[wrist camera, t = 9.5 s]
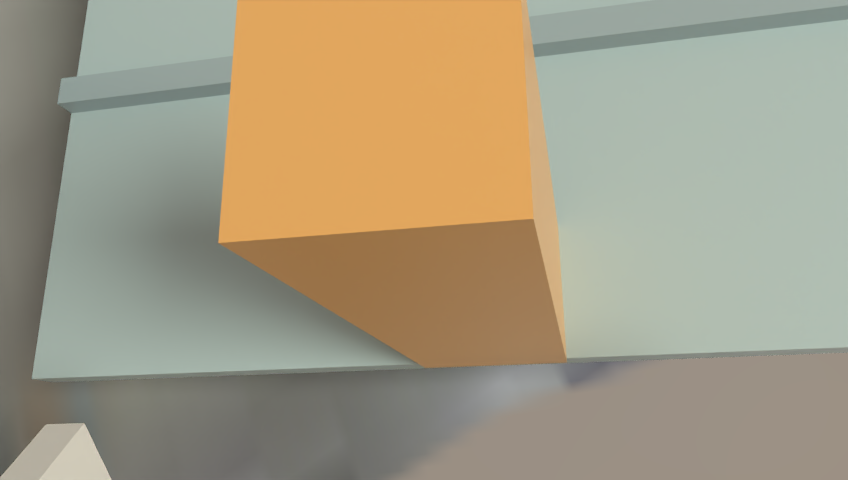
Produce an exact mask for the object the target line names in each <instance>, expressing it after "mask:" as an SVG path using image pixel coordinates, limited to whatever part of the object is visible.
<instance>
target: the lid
mask: <svg viewBox="0 0 848 480" xmlns="http://www.w3.org/2000/svg"><path fill="white" fill-rule="evenodd" d="M57 104H58V105H60V106H61V107H63V108H64V109H66V110H67V111H69V112H70V113H71V120H70V126H69V133H68V140H67V146H66V153H65V160H64V166H63V173H62V180H61V187H60V193H59V200H58V207H57V213H56V220H55V227H54V233H53V240H52V247H51V253H50V260H49V267H48V273H47V280H46V287H45V293H44V300H43V307H42V313H41V320H40V327H39V334H38V340H37V347H36V354H35V360H34V367H33V374H32V379H35V380H42V381H48V382H75V381H101V380H128V379H155V378H181V377H208V376H235V375H261V374H288V373H314V372H341V371H368V370H394V369H421V368H448V367H474V366H501V365H527V364H554V363H581V362H607V361H634V360H660V359H687V358H711V357H712V358H713V357H740V356H767V355H792V354H793V355H794V354H820V353H847V352H848V0H88V6H87V13H86V20H85V26H84V33H83V40H82V46H81V53H80V60H79V66H78V73H77V76H76V77H69V78H61V84H60V90H59V96H58V103H57Z"/></svg>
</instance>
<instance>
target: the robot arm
mask: <svg viewBox="0 0 848 480" xmlns="http://www.w3.org/2000/svg"><path fill="white" fill-rule="evenodd" d="M0 480H111V478H110V476H109V474H108V472H107V469H106V467H105V465H104V463H103V461H102V459H101V457H100V455H99V453H98V451H97V449H96V446H95V444H94V442H93V440H92V438H91V436H90V434H89V432H88V430H87V428H86V426H85V424H84V423H72V424H46V425H45V426H44V427H43V428H42V429H41V431H40V432H39V433H38V434H37V435H36V436H35V438H34V439H33V440H32V441H31V442H30V443H29V445H28V446H27V447H26V448H25V449H24V450H23V451H22V453H21V454H20V455H19V456H18V457H17V458H16V460H15V461H14V462H13V463H12V464H11V465H10V467H9V468H8V469H7V470H6V471H5V472H4V473H3V475H2V476H1V477H0Z"/></svg>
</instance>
